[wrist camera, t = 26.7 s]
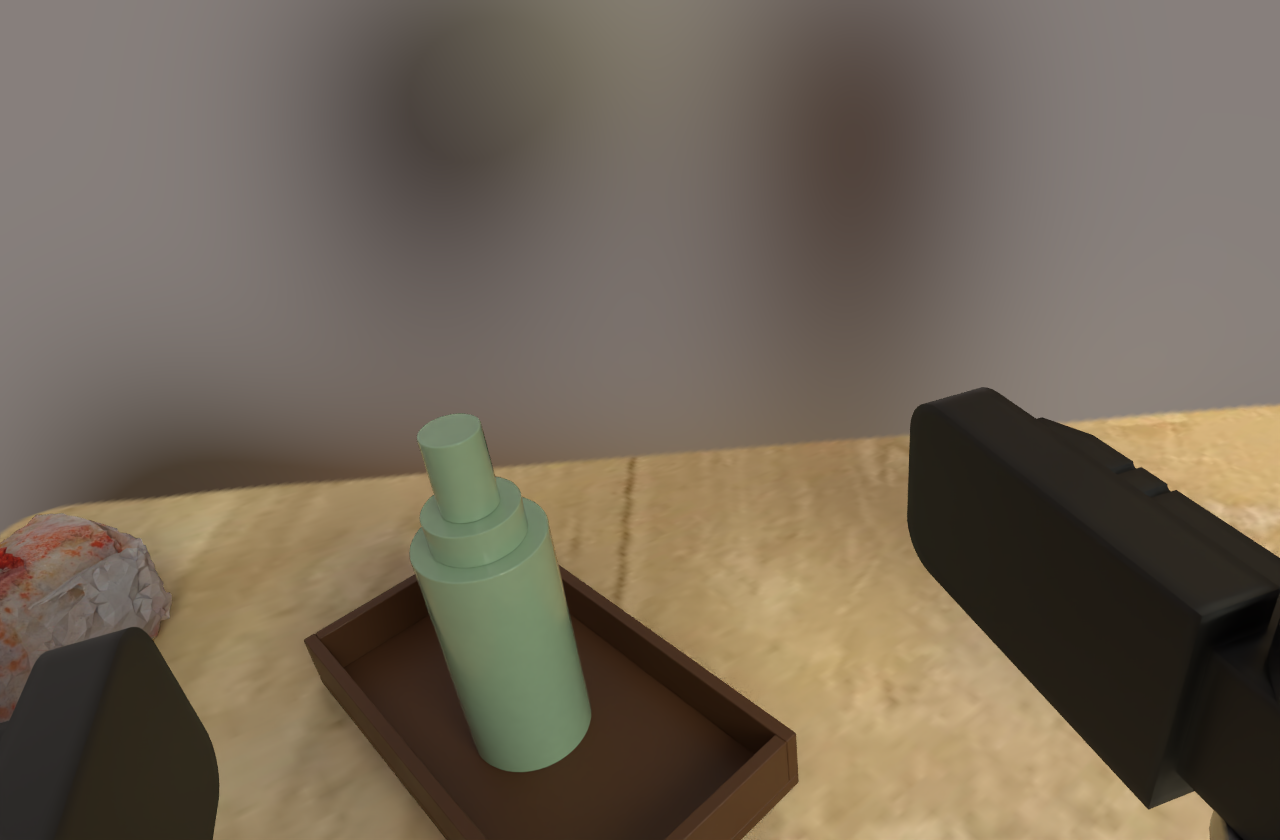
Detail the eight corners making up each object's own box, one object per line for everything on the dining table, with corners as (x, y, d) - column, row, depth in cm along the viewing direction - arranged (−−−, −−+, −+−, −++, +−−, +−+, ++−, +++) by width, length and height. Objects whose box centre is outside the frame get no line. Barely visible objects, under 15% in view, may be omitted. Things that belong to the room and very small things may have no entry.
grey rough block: (96, 607, 52) (15, 474, 47) (200, 621, 50) (127, 483, 45) (-127, 804, 41) (-262, 659, 36) (-7, 834, 39) (-134, 683, 34)
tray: (511, 564, 51) (500, 523, 49) (799, 782, 36) (796, 732, 34) (322, 682, 45) (303, 639, 43) (577, 1005, 30) (561, 957, 28)
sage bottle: (544, 656, 43) (472, 378, 35) (616, 716, 39) (553, 420, 31) (449, 724, 40) (346, 438, 32) (517, 796, 37) (419, 492, 28)
